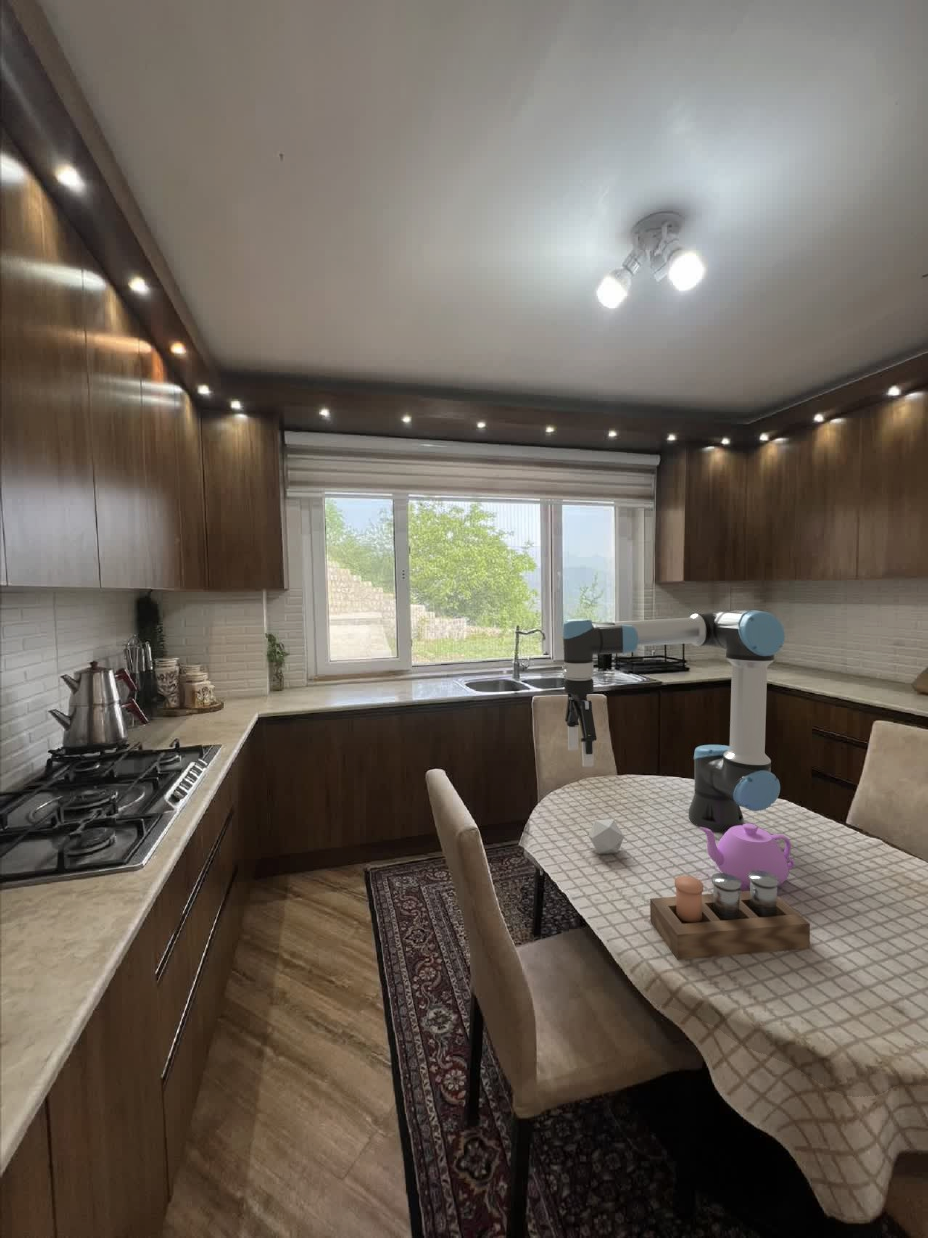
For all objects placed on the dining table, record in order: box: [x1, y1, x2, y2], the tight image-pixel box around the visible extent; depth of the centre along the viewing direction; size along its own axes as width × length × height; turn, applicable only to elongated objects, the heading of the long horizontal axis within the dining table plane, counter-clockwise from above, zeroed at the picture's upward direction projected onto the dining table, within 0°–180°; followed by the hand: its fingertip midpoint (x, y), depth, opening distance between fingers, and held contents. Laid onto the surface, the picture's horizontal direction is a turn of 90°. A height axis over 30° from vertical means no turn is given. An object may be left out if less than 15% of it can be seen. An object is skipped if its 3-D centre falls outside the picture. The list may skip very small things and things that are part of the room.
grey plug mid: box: [711, 872, 741, 920], centre depth 107 cm, size 5×5×7 cm
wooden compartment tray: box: [649, 890, 811, 961], centre depth 108 cm, size 27×12×5 cm, turn 95°
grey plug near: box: [748, 870, 780, 917], centre depth 108 cm, size 5×5×7 cm
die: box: [588, 819, 625, 855], centre depth 143 cm, size 8×9×10 cm
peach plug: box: [674, 875, 704, 923], centre depth 107 cm, size 5×5×7 cm
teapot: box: [699, 822, 795, 893], centre depth 127 cm, size 22×16×14 cm
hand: (580, 757), depth 138 cm, fingers open, 13 cm apart
